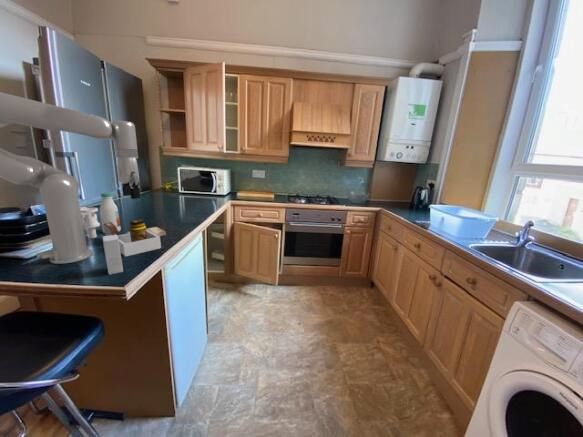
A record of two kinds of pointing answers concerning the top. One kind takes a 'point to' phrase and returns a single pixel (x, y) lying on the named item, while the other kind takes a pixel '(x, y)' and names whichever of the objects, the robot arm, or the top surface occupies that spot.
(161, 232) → the board
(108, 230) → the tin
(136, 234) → the condiment
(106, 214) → the milk bottle
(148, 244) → the bin
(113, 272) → the skincare box
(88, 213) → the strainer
